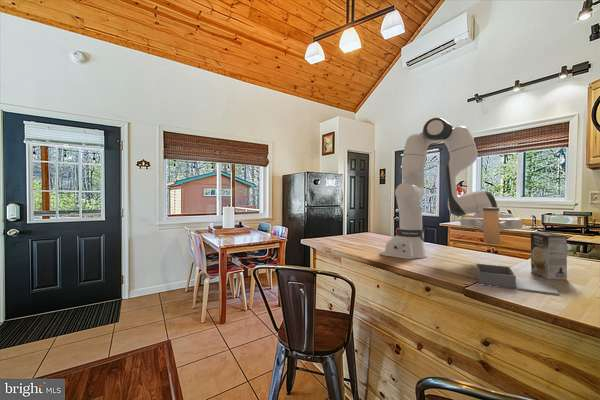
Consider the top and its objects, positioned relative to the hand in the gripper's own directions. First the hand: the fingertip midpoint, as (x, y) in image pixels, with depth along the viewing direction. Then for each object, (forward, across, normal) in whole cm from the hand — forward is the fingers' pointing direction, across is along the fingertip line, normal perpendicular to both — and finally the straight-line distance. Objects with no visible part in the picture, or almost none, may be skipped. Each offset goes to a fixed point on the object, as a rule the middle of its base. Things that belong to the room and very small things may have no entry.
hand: (491, 224), depth 97 cm
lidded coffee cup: (-1, 0, +8) cm, 8 cm away
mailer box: (+9, +5, +20) cm, 22 cm away
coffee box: (-8, +18, +20) cm, 28 cm away
